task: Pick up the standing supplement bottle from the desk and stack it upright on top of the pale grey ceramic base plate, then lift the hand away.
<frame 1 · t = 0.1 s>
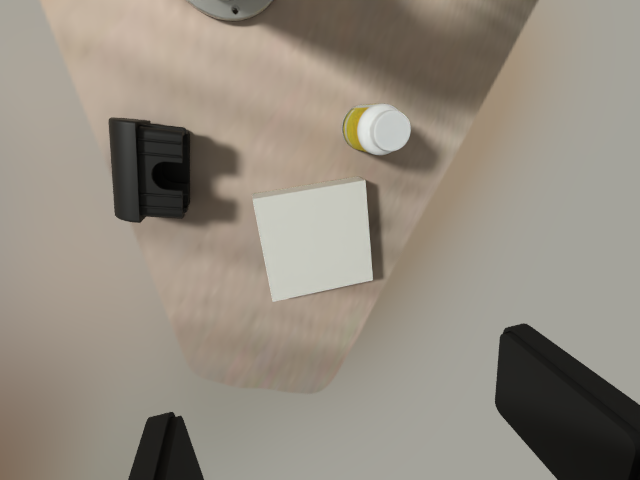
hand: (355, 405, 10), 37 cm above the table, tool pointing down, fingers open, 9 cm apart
base plate: (313, 235, 47), on the table
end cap: (158, 166, 41), on the table
supplement bottle: (360, 127, 44), on the table
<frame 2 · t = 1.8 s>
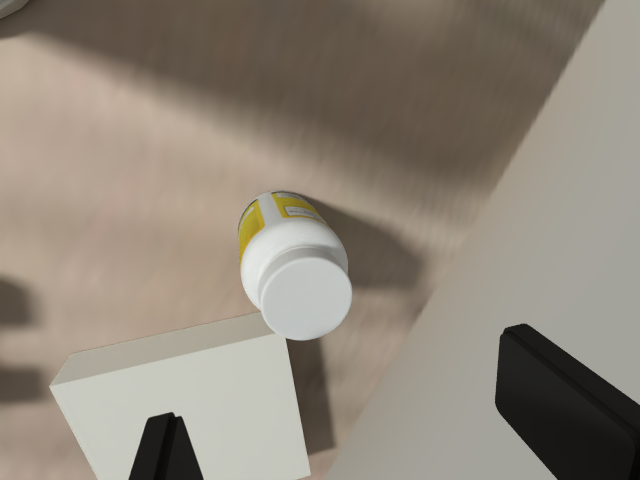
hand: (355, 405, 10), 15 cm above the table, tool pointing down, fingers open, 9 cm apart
base plate: (203, 404, 27), on the table
supplement bottle: (279, 227, 24), on the table
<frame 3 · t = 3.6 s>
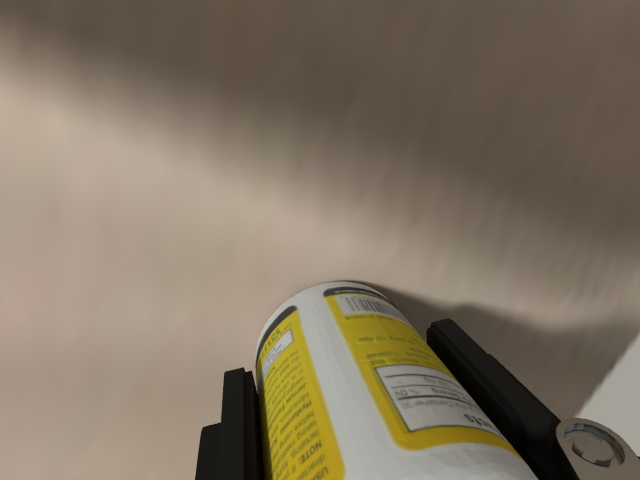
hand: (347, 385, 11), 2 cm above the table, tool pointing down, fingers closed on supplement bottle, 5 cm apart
supplement bottle: (329, 341, 13), on the table, touching gripper
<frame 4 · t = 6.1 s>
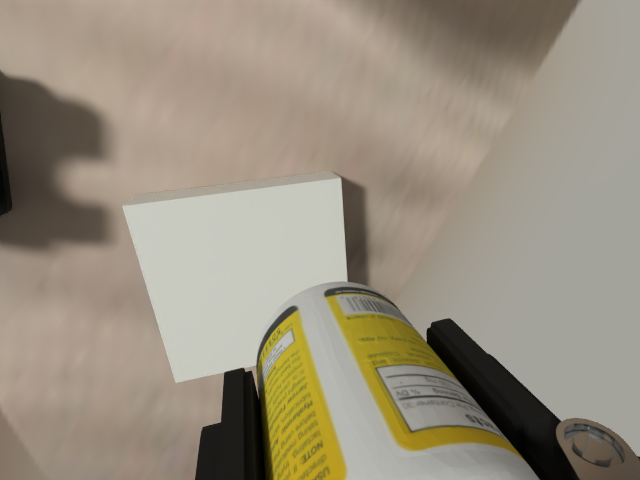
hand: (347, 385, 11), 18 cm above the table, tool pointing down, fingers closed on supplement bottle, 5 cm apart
base plate: (252, 268, 28), on the table
supplement bottle: (330, 341, 13), point 16 cm above the table, touching gripper
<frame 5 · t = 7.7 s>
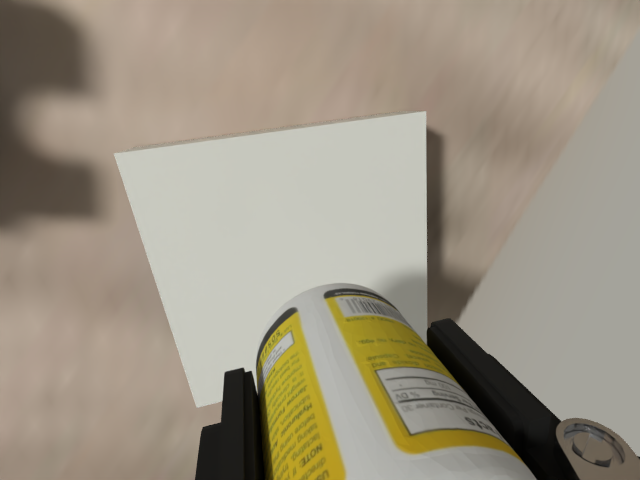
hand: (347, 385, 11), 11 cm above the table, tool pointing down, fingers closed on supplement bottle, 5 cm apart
base plate: (294, 250, 21), on the table
supplement bottle: (330, 343, 13), point 9 cm above the table, touching gripper
when the fingers open (6 cm above the table, at t = 9.0 s): supplement bottle drops 1 cm, resting on base plate.
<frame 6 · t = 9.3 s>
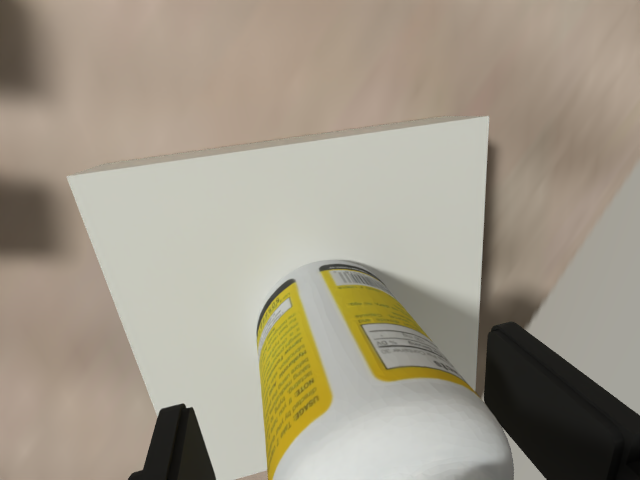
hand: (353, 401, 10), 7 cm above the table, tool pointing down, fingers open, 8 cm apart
base plate: (309, 289, 17), on the table
supplement bottle: (323, 316, 14), point 3 cm above the table, touching base plate
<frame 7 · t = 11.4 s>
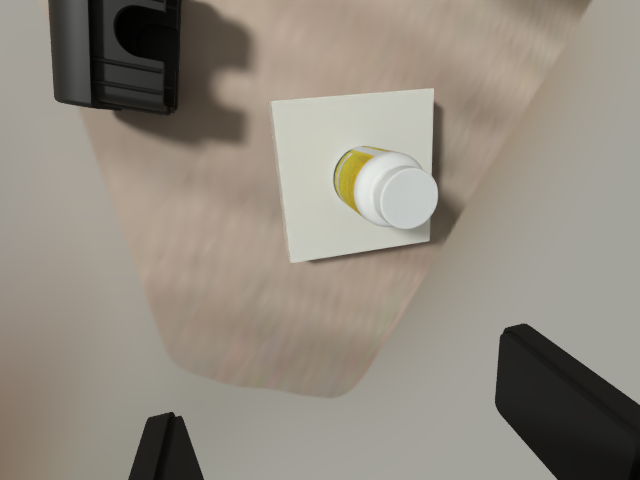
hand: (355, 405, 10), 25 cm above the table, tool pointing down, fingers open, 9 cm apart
base plate: (349, 174, 34), on the table
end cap: (131, 44, 27), on the table
supplement bottle: (359, 176, 31), point 3 cm above the table, touching base plate
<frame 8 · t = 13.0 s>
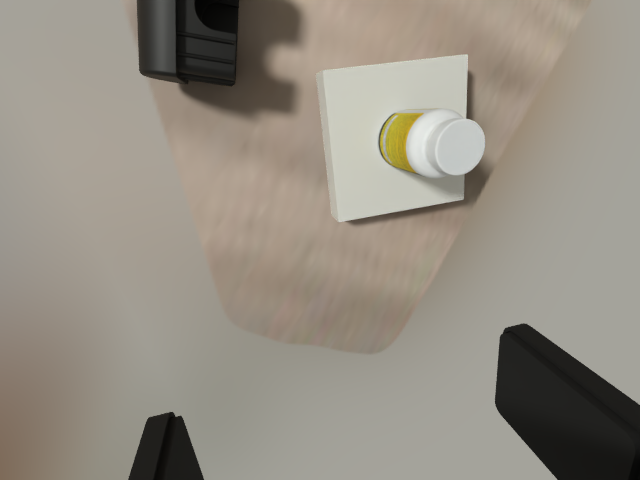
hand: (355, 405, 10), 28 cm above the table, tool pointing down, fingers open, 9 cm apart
base plate: (388, 139, 37), on the table
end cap: (195, 23, 30), on the table
supplement bottle: (400, 139, 34), point 3 cm above the table, touching base plate
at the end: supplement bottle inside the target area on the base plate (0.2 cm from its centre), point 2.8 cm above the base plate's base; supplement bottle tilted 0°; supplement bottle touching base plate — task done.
